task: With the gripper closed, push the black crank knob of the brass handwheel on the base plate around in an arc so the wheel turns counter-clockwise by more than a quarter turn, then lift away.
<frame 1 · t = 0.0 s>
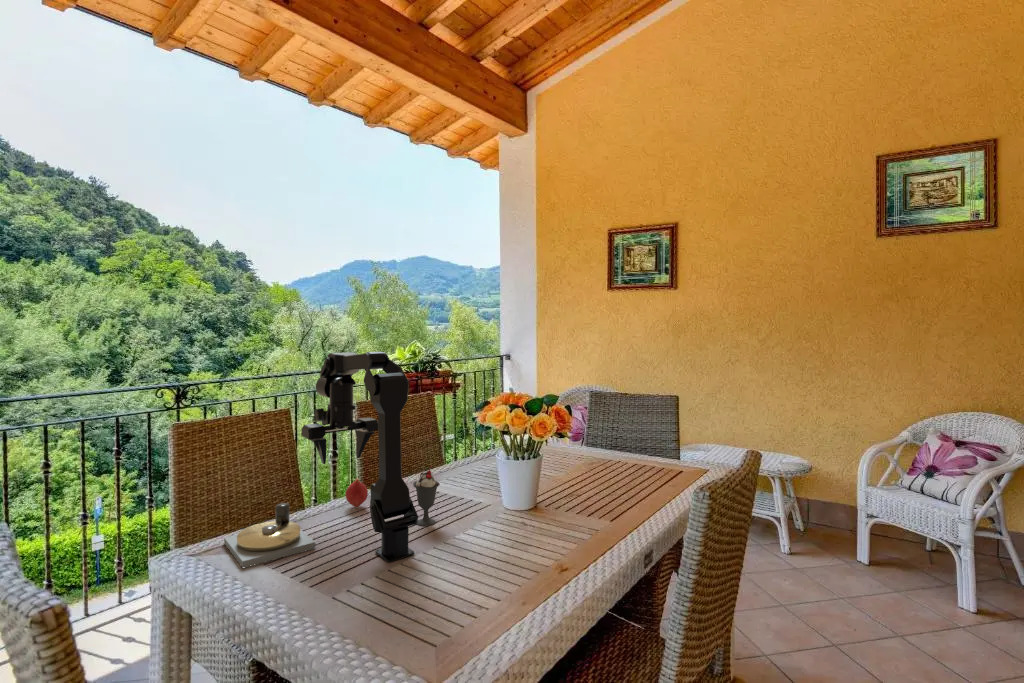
hand: (341, 460, 138), 15 cm above the table, tool pointing down, fingers open, 9 cm apart
base plate: (269, 546, 120), on the table
onion: (356, 508, 146), on the table
handwheel: (269, 526, 120), point 5 cm above the table, hinge at 0.0°
sundae: (426, 523, 136), on the table
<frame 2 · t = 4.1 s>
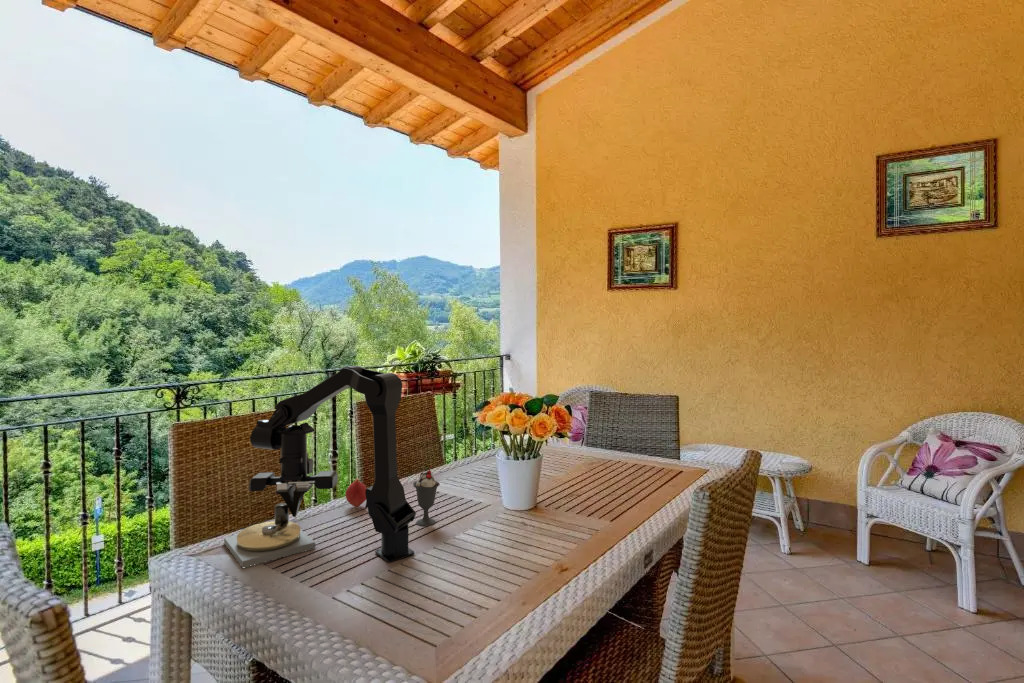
hand: (294, 516, 126), 5 cm above the table, tool pointing down, fingers closed
handwheel: (269, 526, 120), point 5 cm above the table, hinge at 1.9°, touching gripper
everything else where it was.
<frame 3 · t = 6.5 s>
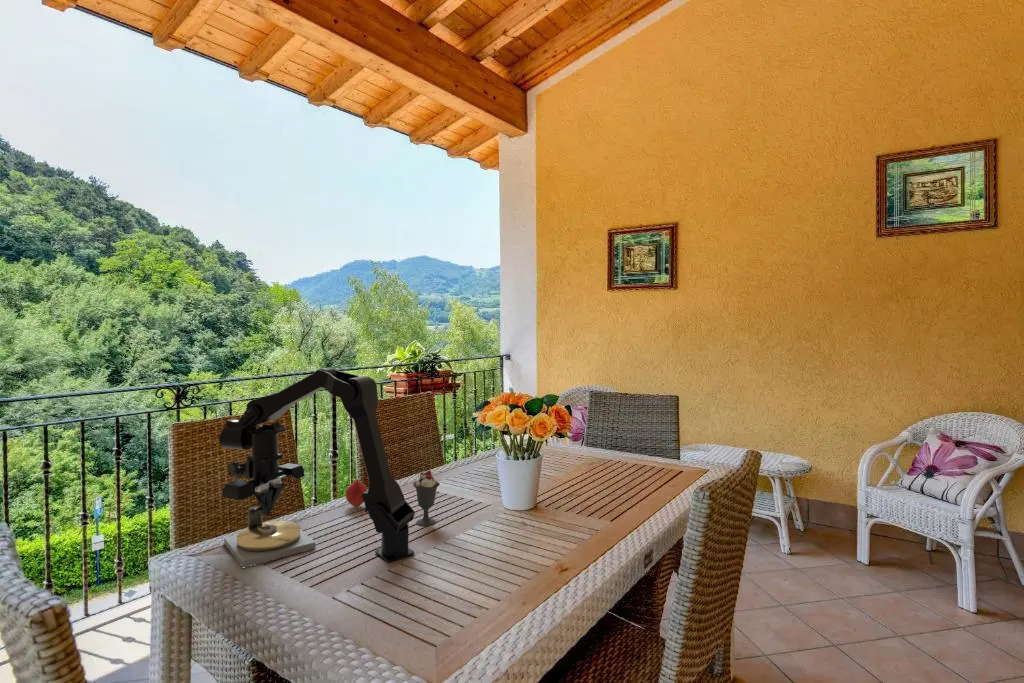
hand: (266, 515, 126), 5 cm above the table, tool pointing down, fingers closed
handwheel: (269, 526, 120), point 5 cm above the table, hinge at 58.2°, touching gripper
everything else where it was.
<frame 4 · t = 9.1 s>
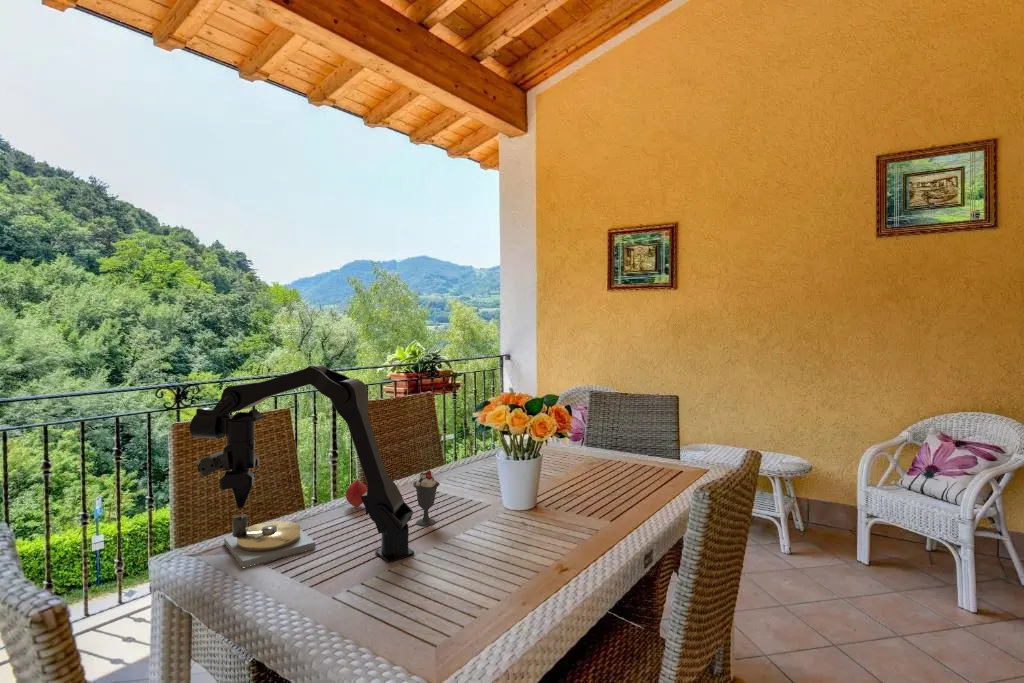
hand: (240, 507, 121), 8 cm above the table, tool pointing down, fingers closed
handwheel: (269, 526, 120), point 5 cm above the table, hinge at 109.4°
everything else where it was.
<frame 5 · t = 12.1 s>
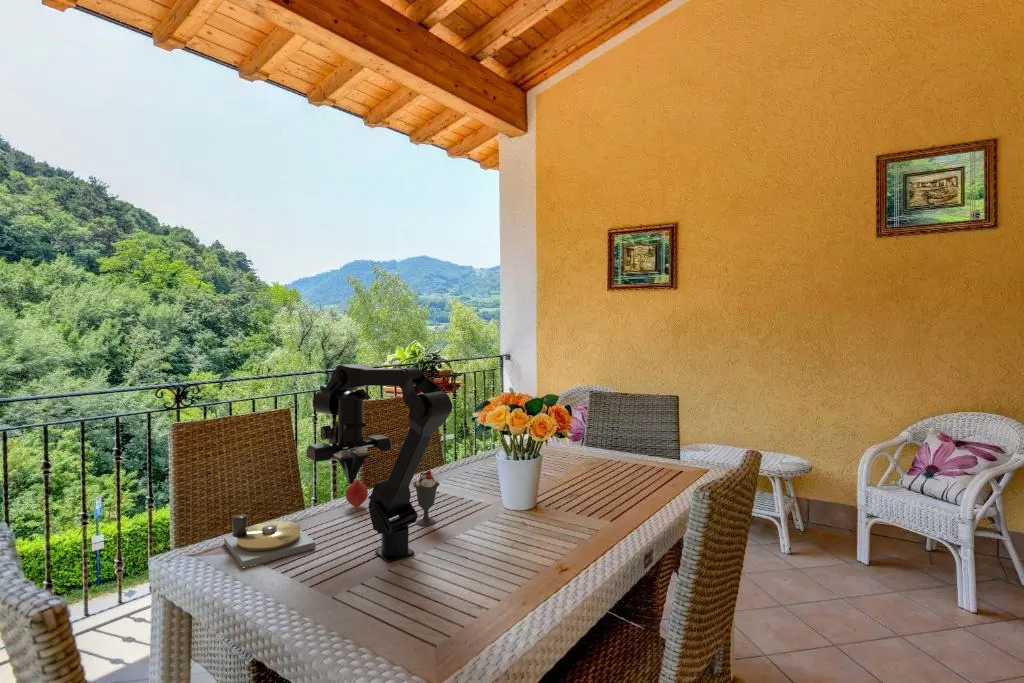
hand: (350, 483, 125), 13 cm above the table, tool pointing down, fingers closed
nothing on the table moved.
at the end: handwheel at +109° (first picture: +0°); onion moved 0.2 cm from its start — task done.
